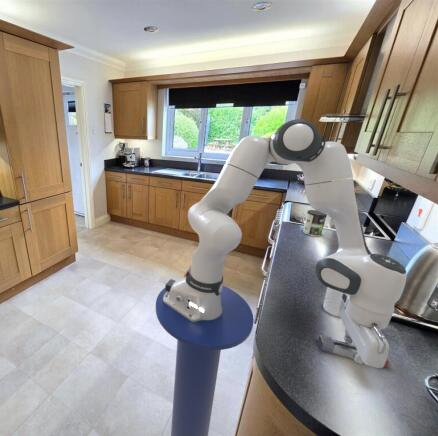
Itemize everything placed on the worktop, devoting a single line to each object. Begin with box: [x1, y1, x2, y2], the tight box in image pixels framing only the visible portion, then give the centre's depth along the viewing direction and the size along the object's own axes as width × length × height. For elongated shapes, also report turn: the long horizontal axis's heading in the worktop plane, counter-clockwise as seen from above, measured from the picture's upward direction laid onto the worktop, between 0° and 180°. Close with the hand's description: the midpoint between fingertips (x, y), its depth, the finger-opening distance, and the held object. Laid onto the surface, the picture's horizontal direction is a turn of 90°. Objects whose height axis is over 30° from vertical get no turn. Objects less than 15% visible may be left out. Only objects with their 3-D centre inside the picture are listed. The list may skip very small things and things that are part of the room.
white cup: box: [322, 286, 342, 318], centre depth 86 cm, size 8×8×10 cm
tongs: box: [317, 334, 390, 368], centre depth 70 cm, size 16×4×3 cm, turn 70°
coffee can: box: [302, 209, 328, 237], centre depth 153 cm, size 10×10×14 cm
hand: (352, 350), depth 70 cm, fingers open, 6 cm apart
